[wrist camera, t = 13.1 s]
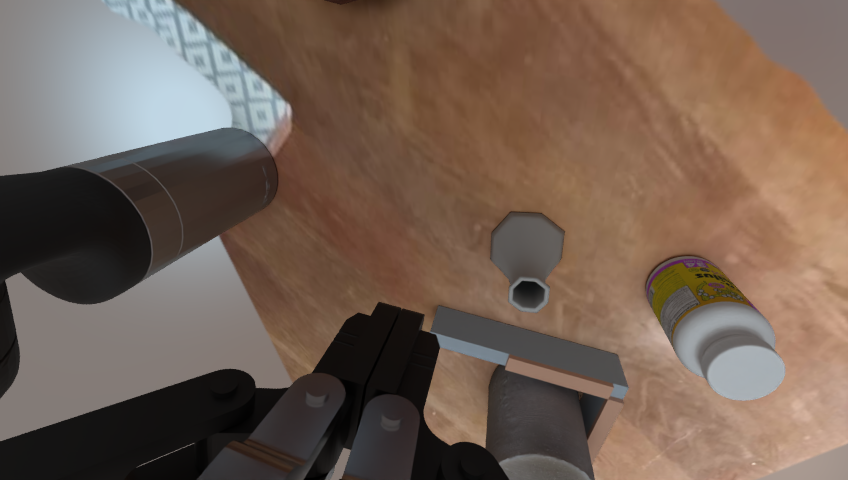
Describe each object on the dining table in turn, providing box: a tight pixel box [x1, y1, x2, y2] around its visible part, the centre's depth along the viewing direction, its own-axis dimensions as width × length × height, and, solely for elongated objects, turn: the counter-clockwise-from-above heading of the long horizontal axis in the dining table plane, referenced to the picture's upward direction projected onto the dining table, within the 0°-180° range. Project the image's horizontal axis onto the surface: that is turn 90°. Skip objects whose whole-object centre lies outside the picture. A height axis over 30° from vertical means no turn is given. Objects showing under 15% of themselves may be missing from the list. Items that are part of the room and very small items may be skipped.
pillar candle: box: [486, 365, 595, 480], centre depth 42 cm, size 10×10×15 cm
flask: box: [490, 212, 565, 313], centre depth 38 cm, size 7×7×10 cm
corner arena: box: [430, 306, 629, 464], centre depth 48 cm, size 20×20×6 cm
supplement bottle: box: [646, 256, 785, 400], centre depth 35 cm, size 7×7×13 cm
